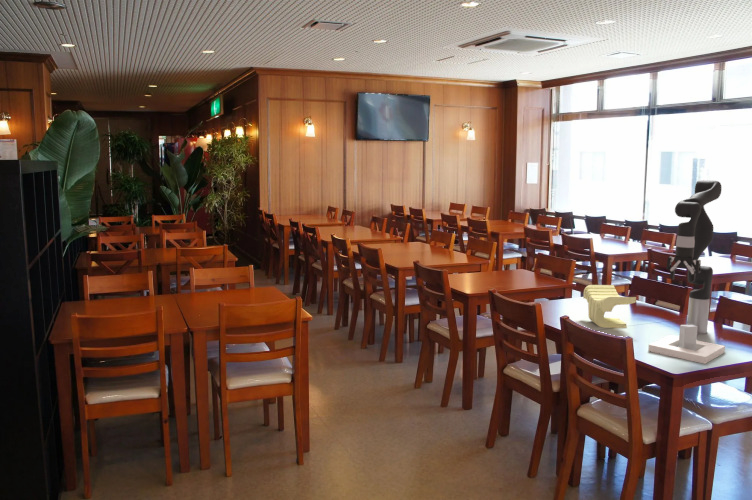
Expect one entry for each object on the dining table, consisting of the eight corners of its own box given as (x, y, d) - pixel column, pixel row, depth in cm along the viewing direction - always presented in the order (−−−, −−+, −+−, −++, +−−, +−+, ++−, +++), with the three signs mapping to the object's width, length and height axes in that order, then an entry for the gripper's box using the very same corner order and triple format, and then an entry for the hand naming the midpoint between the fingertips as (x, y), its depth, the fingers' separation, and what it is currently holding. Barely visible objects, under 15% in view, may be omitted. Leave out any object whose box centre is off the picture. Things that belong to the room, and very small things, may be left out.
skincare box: (690, 350, 291) (692, 324, 289) (696, 353, 286) (698, 326, 284) (677, 350, 290) (679, 324, 288) (683, 353, 285) (685, 326, 284)
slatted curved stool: (582, 317, 349) (584, 284, 347) (611, 317, 349) (613, 285, 347) (601, 331, 320) (603, 296, 317) (633, 332, 320) (635, 297, 317)
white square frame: (669, 341, 305) (670, 334, 304) (724, 352, 288) (725, 345, 287) (648, 351, 288) (648, 344, 288) (704, 363, 271) (705, 356, 271)
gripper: (704, 246, 291) (701, 281, 294) (672, 243, 302) (669, 277, 304) (698, 248, 286) (695, 284, 289) (665, 244, 296) (663, 279, 299)
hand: (682, 280), depth 296 cm, fingers open, 8 cm apart
